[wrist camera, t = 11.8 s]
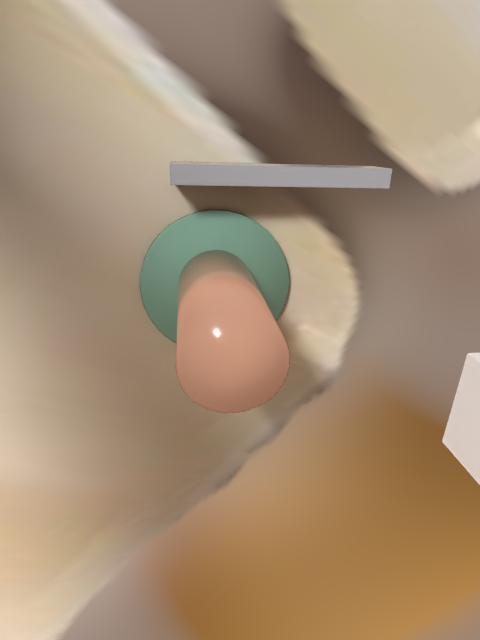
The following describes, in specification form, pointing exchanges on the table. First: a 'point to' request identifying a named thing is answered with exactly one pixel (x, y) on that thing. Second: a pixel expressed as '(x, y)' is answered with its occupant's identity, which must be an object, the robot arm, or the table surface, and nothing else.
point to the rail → (278, 175)
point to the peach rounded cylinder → (226, 336)
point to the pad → (208, 235)
